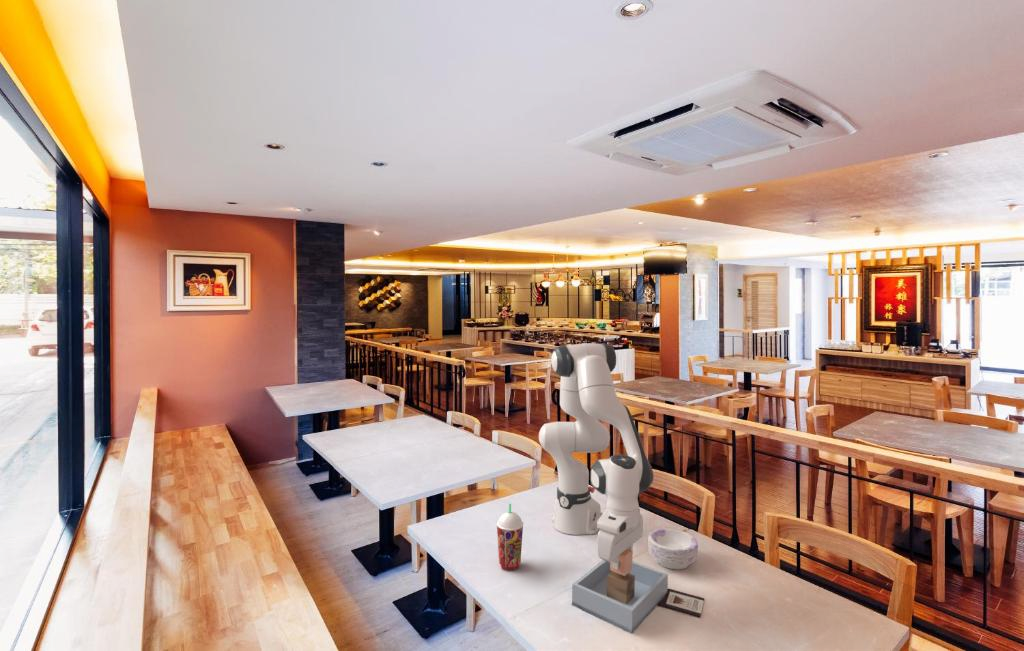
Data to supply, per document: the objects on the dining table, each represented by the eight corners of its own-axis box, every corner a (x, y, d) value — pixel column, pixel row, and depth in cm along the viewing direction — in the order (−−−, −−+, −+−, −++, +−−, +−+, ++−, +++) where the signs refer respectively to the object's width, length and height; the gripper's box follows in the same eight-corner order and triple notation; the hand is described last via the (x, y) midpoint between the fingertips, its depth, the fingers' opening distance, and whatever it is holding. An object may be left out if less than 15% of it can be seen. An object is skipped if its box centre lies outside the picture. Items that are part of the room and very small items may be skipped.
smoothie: (520, 574, 153) (520, 510, 152) (493, 571, 155) (494, 508, 154) (525, 560, 161) (525, 499, 160) (499, 557, 163) (500, 497, 162)
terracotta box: (617, 563, 144) (618, 545, 143) (632, 569, 141) (632, 550, 140) (609, 570, 140) (610, 551, 140) (624, 576, 137) (625, 556, 137)
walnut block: (615, 588, 145) (615, 568, 144) (634, 596, 141) (634, 575, 141) (606, 595, 141) (607, 575, 141) (626, 604, 137) (626, 583, 137)
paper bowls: (653, 546, 171) (654, 523, 171) (700, 557, 164) (701, 533, 164) (642, 567, 158) (643, 542, 158) (693, 580, 151) (694, 555, 150)
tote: (611, 571, 155) (611, 553, 155) (667, 594, 144) (667, 574, 143) (571, 605, 138) (572, 584, 138) (631, 633, 127) (632, 610, 126)
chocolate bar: (640, 580, 150) (704, 598, 141) (639, 583, 150) (704, 601, 141) (632, 596, 142) (700, 616, 133) (632, 600, 142) (700, 619, 133)
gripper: (629, 500, 149) (628, 545, 150) (593, 524, 134) (592, 574, 135) (649, 506, 145) (648, 552, 146) (614, 531, 130) (613, 583, 131)
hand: (621, 563), depth 140 cm, fingers closed on terracotta box, 4 cm apart
